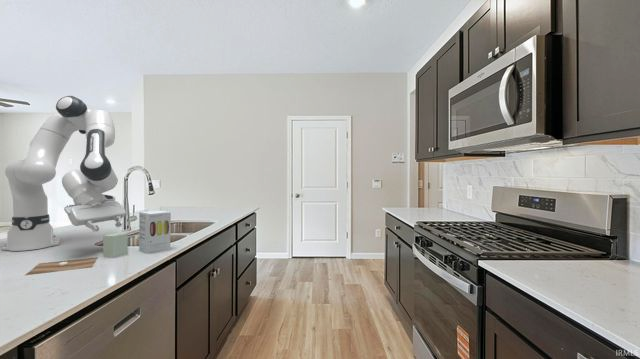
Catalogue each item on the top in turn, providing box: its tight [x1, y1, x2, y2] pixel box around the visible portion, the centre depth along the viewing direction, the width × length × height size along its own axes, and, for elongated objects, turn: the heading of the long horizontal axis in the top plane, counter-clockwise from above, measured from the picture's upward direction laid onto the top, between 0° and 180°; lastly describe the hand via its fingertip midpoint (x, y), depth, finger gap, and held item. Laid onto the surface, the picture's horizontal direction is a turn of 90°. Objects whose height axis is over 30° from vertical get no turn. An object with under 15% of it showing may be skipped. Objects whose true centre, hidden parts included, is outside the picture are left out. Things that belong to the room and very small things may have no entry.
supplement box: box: [138, 209, 172, 255], centre depth 129 cm, size 10×9×17 cm
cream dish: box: [59, 262, 67, 267], centre depth 104 cm, size 2×2×1 cm
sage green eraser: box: [102, 232, 129, 259], centre depth 117 cm, size 5×6×9 cm
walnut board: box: [25, 256, 99, 276], centre depth 104 cm, size 14×17×1 cm
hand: (108, 228), depth 120 cm, fingers open, 8 cm apart
